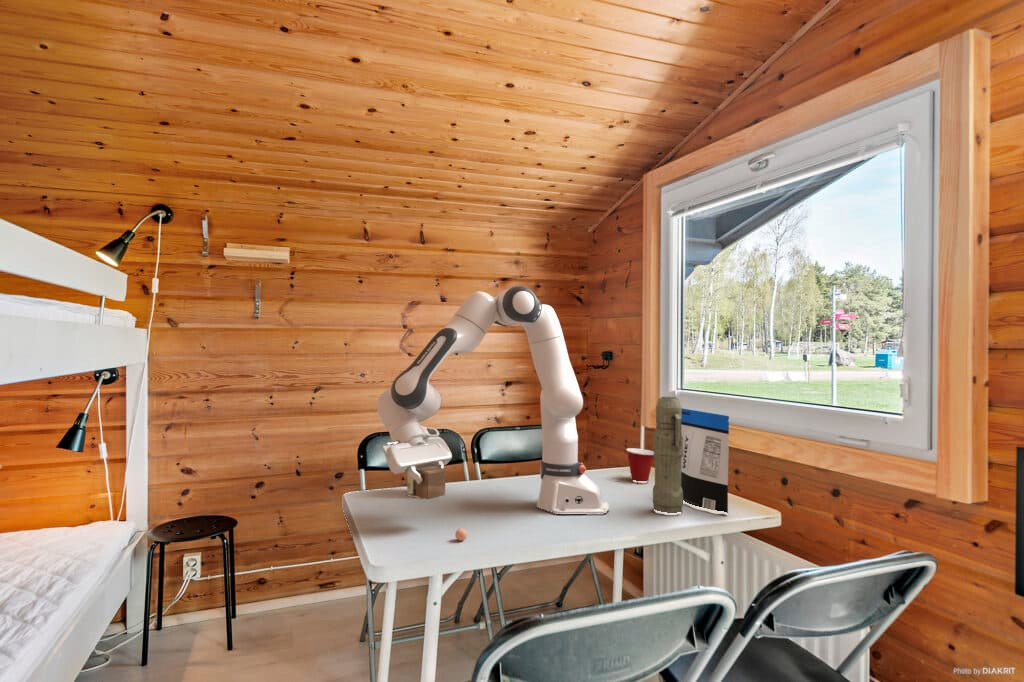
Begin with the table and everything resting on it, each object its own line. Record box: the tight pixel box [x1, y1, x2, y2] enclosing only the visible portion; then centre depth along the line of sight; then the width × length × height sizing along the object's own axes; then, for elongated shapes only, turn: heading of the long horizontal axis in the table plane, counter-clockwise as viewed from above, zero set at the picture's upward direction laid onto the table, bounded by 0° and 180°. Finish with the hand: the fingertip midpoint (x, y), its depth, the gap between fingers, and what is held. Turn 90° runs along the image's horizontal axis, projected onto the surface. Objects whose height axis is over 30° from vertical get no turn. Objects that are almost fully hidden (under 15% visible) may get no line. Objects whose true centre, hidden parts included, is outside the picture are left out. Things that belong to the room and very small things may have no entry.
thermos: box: [652, 396, 684, 513], centre depth 180 cm, size 9×12×35 cm
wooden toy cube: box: [416, 466, 446, 500], centre depth 160 cm, size 5×6×7 cm
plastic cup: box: [626, 447, 655, 481], centre depth 219 cm, size 11×11×12 cm
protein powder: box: [681, 407, 730, 514], centre depth 188 cm, size 10×24×30 cm, turn 20°
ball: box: [454, 528, 468, 542], centre depth 151 cm, size 3×3×3 cm
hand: (432, 479), depth 160 cm, fingers closed on wooden toy cube, 6 cm apart
